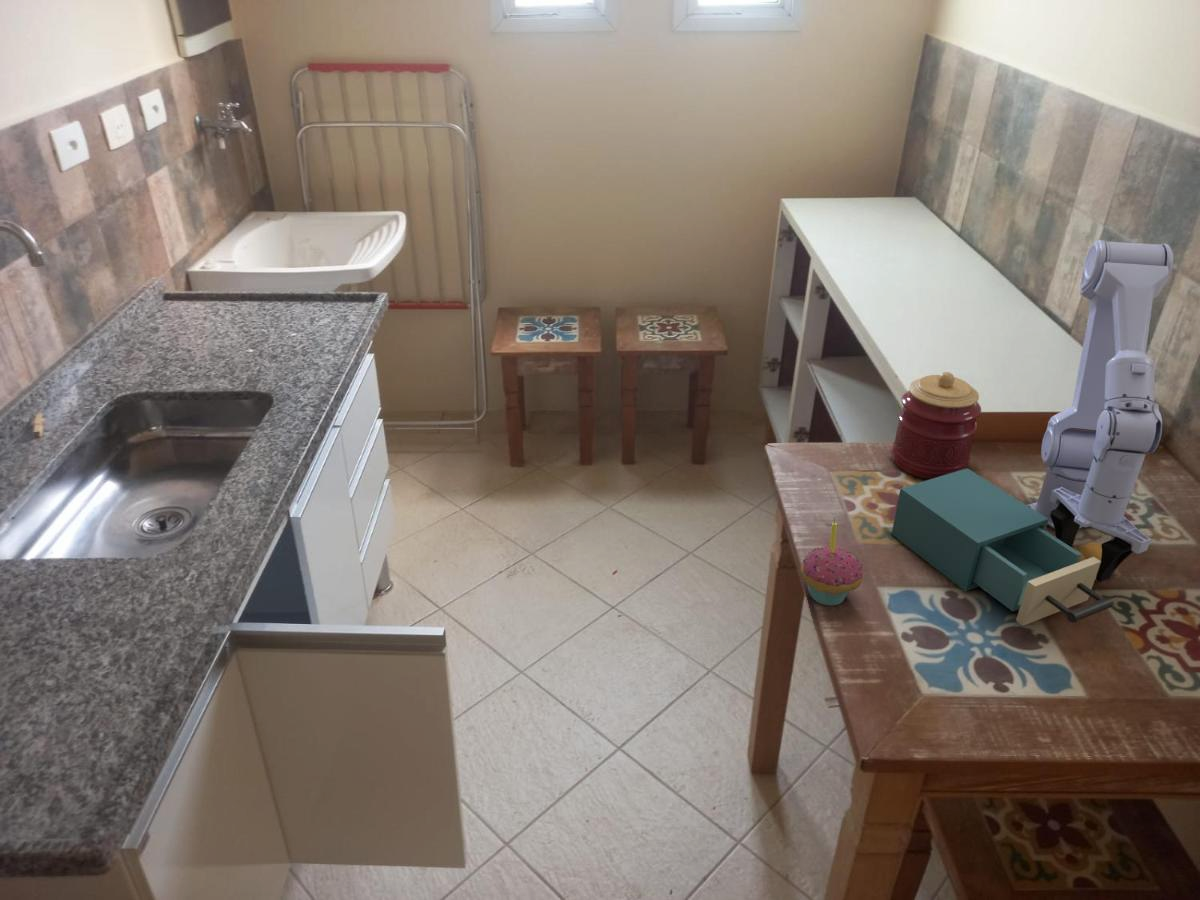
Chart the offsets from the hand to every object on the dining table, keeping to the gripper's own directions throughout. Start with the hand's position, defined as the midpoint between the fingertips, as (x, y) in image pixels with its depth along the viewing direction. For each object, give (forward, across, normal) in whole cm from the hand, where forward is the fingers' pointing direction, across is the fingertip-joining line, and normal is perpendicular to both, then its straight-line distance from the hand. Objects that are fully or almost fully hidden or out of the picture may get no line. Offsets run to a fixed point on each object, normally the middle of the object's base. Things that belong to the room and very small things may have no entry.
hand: (1082, 565), depth 128 cm
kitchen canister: (+2, -34, +2) cm, 34 cm away
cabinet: (+1, -12, -12) cm, 17 cm away
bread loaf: (+1, 0, 0) cm, 1 cm away
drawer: (0, +1, -11) cm, 12 cm away
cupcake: (+2, -12, -36) cm, 38 cm away
